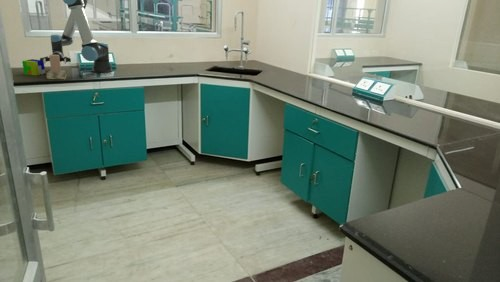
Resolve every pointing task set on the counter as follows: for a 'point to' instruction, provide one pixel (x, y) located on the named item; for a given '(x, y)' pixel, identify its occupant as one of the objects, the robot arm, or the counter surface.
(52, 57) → the pillar block
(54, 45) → the robot arm
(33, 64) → the puzzle toy
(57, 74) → the pedestal
